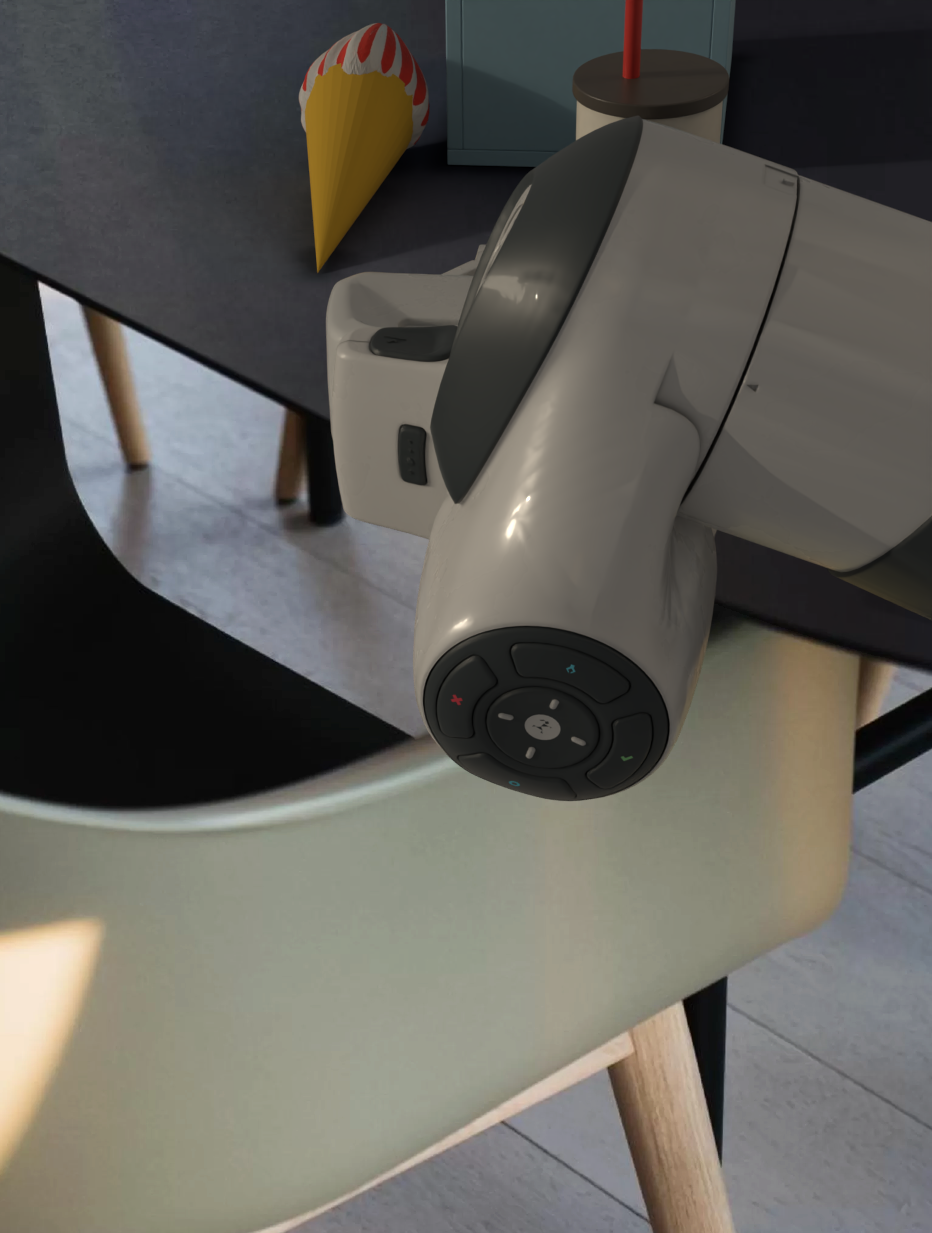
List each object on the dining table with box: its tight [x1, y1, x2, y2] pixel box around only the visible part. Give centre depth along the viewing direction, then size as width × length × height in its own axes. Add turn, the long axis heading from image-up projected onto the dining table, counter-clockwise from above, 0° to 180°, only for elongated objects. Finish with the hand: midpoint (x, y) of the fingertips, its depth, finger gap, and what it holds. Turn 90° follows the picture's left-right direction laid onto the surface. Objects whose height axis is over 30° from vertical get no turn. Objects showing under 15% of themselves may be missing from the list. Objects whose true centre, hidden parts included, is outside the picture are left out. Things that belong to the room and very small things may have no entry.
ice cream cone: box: [298, 22, 430, 274], centre depth 108 cm, size 6×6×20 cm
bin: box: [445, 0, 737, 168], centre depth 113 cm, size 14×16×9 cm
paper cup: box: [572, 0, 730, 143], centre depth 91 cm, size 6×6×17 cm
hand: (624, 267), depth 83 cm, fingers open, 8 cm apart
